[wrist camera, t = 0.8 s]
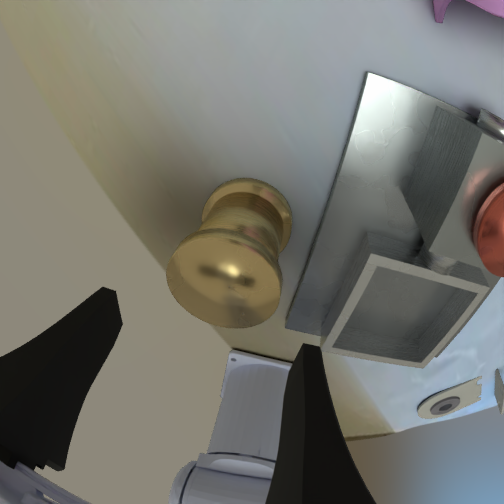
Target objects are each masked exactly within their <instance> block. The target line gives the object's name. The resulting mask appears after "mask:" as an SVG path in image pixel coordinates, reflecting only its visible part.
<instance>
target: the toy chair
mask: <svg viewBox="0 0 504 504" xmlns="http://www.w3.org/2000/svg"><path fill="white" fill-rule="evenodd" d="M451 1H452V0H433V4H434V12H435V20H436V22H437V23H442V22H443V19H444V15H445V11H446V8H447V6H448V4H449V2H451ZM466 1H468V2H470V3H472V4H474V5H476V6H478V7H480V8H481V9H483V10H485V11H487V12H489V13H491V14H492V15H495V16H497V17H501V18H504V0H466Z"/></svg>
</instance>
